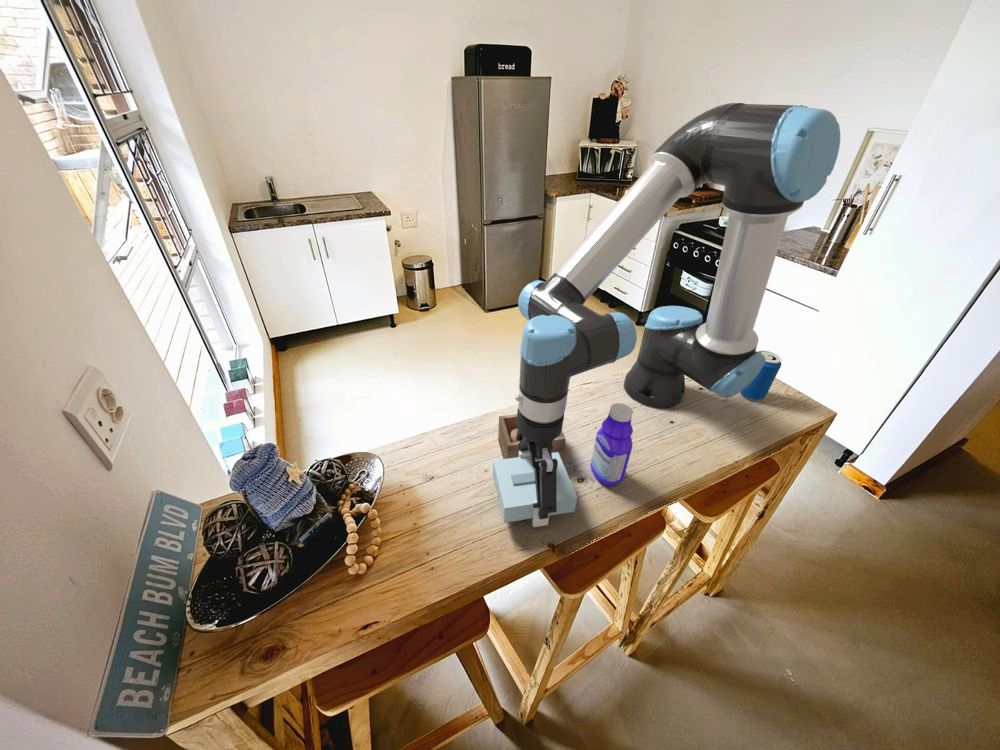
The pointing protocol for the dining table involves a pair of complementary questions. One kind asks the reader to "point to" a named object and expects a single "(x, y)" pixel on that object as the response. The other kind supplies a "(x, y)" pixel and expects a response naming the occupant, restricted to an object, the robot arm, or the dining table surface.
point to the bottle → (613, 446)
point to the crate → (511, 444)
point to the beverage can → (763, 377)
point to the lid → (528, 488)
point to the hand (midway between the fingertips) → (531, 498)
